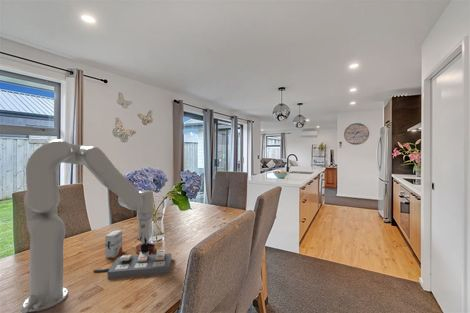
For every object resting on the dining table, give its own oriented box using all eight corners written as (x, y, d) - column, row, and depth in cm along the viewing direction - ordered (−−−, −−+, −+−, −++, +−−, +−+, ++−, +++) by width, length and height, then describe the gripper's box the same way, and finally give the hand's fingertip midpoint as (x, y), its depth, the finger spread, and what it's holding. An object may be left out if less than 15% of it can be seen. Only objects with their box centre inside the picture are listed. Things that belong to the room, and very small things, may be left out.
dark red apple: (137, 258, 124) (136, 240, 128) (155, 254, 127) (154, 236, 131) (134, 257, 114) (133, 237, 118) (155, 252, 118) (153, 233, 122)
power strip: (169, 273, 100) (169, 266, 100) (87, 280, 93) (87, 273, 93) (171, 258, 114) (171, 252, 114) (99, 264, 107) (100, 257, 107)
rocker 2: (146, 261, 104) (146, 258, 104) (137, 261, 103) (137, 259, 103) (148, 253, 110) (148, 250, 110) (140, 253, 109) (140, 251, 109)
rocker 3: (164, 259, 106) (164, 257, 106) (155, 260, 105) (155, 258, 105) (165, 251, 112) (165, 249, 111) (157, 252, 111) (157, 250, 110)
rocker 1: (128, 260, 102) (128, 257, 102) (119, 260, 101) (119, 257, 102) (131, 257, 108) (131, 254, 108) (122, 257, 107) (123, 254, 107)
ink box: (113, 250, 122) (114, 229, 122) (122, 250, 122) (122, 230, 122) (104, 257, 114) (104, 235, 114) (113, 258, 114) (114, 235, 114)
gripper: (150, 219, 102) (150, 258, 102) (155, 210, 116) (155, 244, 117) (133, 220, 100) (133, 259, 101) (140, 211, 115) (140, 245, 115)
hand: (144, 251), depth 109 cm, fingers closed
